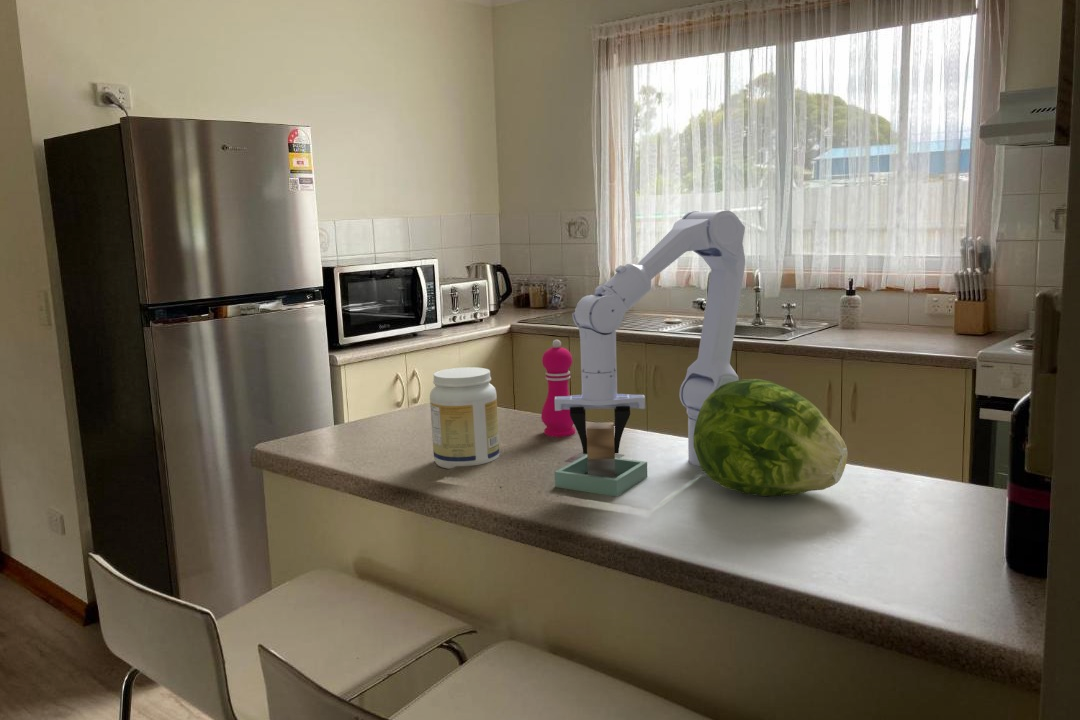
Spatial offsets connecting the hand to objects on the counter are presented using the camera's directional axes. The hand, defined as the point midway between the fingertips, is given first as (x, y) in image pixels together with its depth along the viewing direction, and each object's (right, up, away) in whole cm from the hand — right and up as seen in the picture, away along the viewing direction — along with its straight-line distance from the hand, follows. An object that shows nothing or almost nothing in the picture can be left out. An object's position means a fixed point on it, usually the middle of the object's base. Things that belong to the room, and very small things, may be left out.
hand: (600, 451), depth 140 cm
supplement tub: (-23, -4, +19) cm, 30 cm away
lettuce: (+26, -6, -5) cm, 27 cm away
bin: (0, -6, +1) cm, 6 cm away
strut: (0, -4, +1) cm, 4 cm away
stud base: (0, -4, +15) cm, 15 cm away
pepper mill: (-6, -1, +33) cm, 34 cm away
